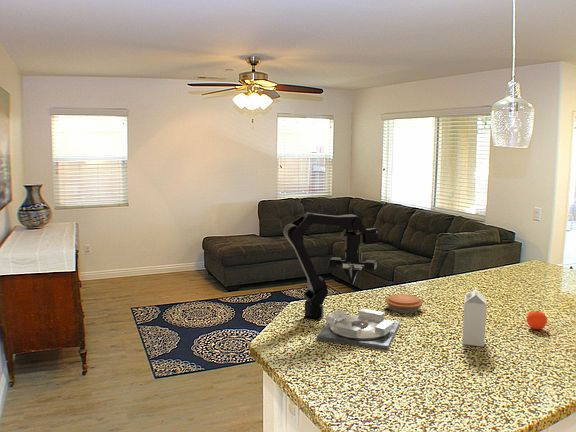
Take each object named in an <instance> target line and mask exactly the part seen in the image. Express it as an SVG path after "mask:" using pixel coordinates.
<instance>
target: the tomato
mask: <svg viewBox="0 0 576 432" xmlns="http://www.w3.org/2000/svg"><path fill="white" fill-rule="evenodd" d="M525 314H526V313H524V315H525ZM526 323H527V325H528V326H529V327H530V328H531V329H534V330H541V329H543V328H545V327H546V325H547V323H548V318H547V316H546V314H545V313H544V312H543V311H541V310H537V309H536V310H535V309H530V310H528V314H527V315H526Z"/></svg>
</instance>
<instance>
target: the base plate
mask: <svg viewBox="0 0 576 432" xmlns="http://www.w3.org/2000/svg"><path fill="white" fill-rule="evenodd" d="M346 316H350V315H348V314H346ZM394 321H395V324H394V329H393V330H391V331H390V333H389V334H388V335H386V336H384V337H381V338H377V339H367V340H361V339H351V338H345V337H342V336H339V335H337V334H335V333H333V332H332V331H331V330H330V324H329V323H326V324H325V326H324V327H323V328H322V329H321V330H320V332H319V333H318V334H317V335H316V341H320V342H328V343H334V344H341V345H347V344H348V345H347V346H349V345H350V346H354V345H355V347H361V346H362V348H368V347H369V348H370V349H375V350H376V349H377V350H384V351H388V350H389V349H390V346H391V345H390V344H392V343H393V340H394V339H395V337H396V334H397V332H398V330H399V328H400V325H401V322H400V321H399V320H398V321H397V320H394ZM391 342H392V343H391Z"/></svg>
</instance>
